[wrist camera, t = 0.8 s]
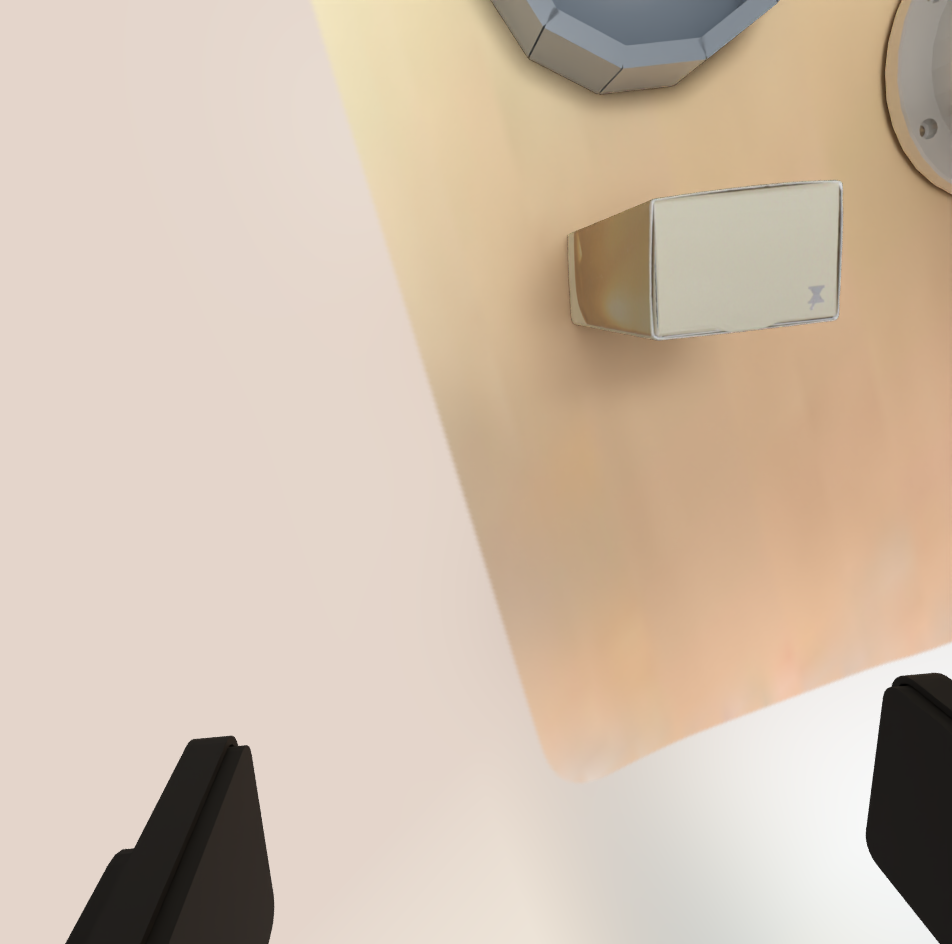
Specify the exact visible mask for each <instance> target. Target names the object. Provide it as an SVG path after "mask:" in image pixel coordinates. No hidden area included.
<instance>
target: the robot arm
mask: <svg viewBox="0 0 952 944" xmlns="http://www.w3.org/2000/svg"><path fill="white" fill-rule="evenodd" d="M885 80H886V99H887V104H888V109H889V113H890V117H891V122H892V126H893V129H894V131H895V133H896V135H897V138H898V140H899V142H900V144H901V147H902V149H903V151H904V152H905V153H906V155H907V156H908V158H909V159H910V160H911V162H912V163H913V165H914V166H915V167H916V169H917V170H918V171H919V172H920V173H921V174H923V175H924V176H925V177H926V178H927V179H928V180H929V181H930V182H932V183H933V184H934V185H935V186H937V187H939V188H941V189H943V190H945V191H946V192H948V193H950V194H952V0H902V1H901V3H900V6H899V8H898V10H897V12H896V16H895V19H894V23H893V27H892V30H891V34H890V38H889V42H888V49H887V59H886V68H885ZM866 842H867V846H868V849H869V852H870V854H871V856H872V858H873V860H874V861H875V863H876V864H877V865H878V867H879V868H880V869H881V871H882V872H883V873H884V874H885V875H886V877H887V878H888V879H889V881H890V882H891V883H892V884H893V886H894V887H895V888H896V889H897V890H898V892H899V893H900V894H901V896H902V897H903V898H904V899H905V901H906V902H907V903H908V904H909V906H910V907H911V908H912V909H913V911H914V912H915V913H916V914H917V916H918V917H919V918H920V920H921V921H922V922H923V923H924V925H925V926H926V927H927V928H928V929H929V931H930V932H931V933H932V935H933V936H934V937H935V938H936V940H937V941H938V942H939V943H940V944H952V680H951V679H950V678H948V677H947V676H945V675H943V674H940V673H928V674H917V675H906V676H900V677H897V678H896V679H895V680H894V682H893V683H892V687H890V688H887V689H886V691H885V692H884V696H883V702H882V710H881V718H880V725H879V733H878V741H877V749H876V757H875V765H874V772H873V781H872V788H871V796H870V804H869V812H868V820H867V827H866ZM273 917H274V895H273V889H272V882H271V876H270V869H269V863H268V856H267V850H266V844H265V837H264V831H263V825H262V818H261V812H260V805H259V799H258V792H257V786H256V780H255V773H254V767H253V761H252V754H251V750H250V748H249V746H247V745H244V746H238V744H237V741H236V739H235V737H233V736H224V737H212V738H201V739H193V740H191V741H190V742H189V743H188V745H187V746H186V748H185V750H184V752H183V754H182V756H181V758H180V760H179V762H178V764H177V766H176V768H175V770H174V772H173V773H172V775H171V777H170V780H169V781H168V783H167V785H166V787H165V789H164V791H163V793H162V795H161V797H160V799H159V801H158V803H157V805H156V807H155V809H154V811H153V813H152V815H151V817H150V818H149V820H148V822H147V824H146V826H145V828H144V830H143V832H142V834H141V836H140V838H139V840H138V842H137V844H136V846H135V848H133V849H123V850H121V851H120V852H118V853H117V854H116V855H115V856H114V857H113V859H112V860H111V862H110V863H109V864H108V866H107V868H106V870H105V872H104V873H103V875H102V877H101V879H100V881H99V883H98V884H97V886H96V888H95V890H94V892H93V894H92V896H91V897H90V899H89V901H88V903H87V905H86V907H85V908H84V910H83V912H82V914H81V916H80V918H79V920H78V921H77V923H76V925H75V927H74V929H73V931H72V932H71V934H70V936H69V938H68V940H67V942H66V943H65V944H268V943H269V939H270V934H271V930H272V925H273Z"/></svg>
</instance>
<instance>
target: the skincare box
mask: <svg viewBox="0 0 952 944" xmlns="http://www.w3.org/2000/svg"><path fill="white" fill-rule="evenodd" d="M842 203H843V184H842V182H840V181H838V180H828V181H802V182H787V183H776V184H765V185H755V186H747V187H738V188H729V189H720V190H713V191H705V192H698V193H691V194H683V195H677V196H670V197H663V198H656V199H652V200H650V201H648V202H645V203H643V204H641V205H638V206H636V207H633V208H631V209H628V210H626V211H624V212H621V213H619V214H616V215H614V216H612V217H609V218H607V219H605V220H602V221H600V222H597V223H595V224H593V225H590V226H588V227H585V228H582V229H580V230H578V231H575V232H572V233H570V234H569V235H568V267H569V290H570V306H571V319H572V322H573V323H574V324H576V325H580V326H586V327H591V328H596V329H601V330H606V331H611V332H616V333H621V334H627V335H632V336H637V337H642V338H647V339H652V340H668V339H678V338H688V337H698V336H708V335H717V334H726V333H735V332H744V331H752V330H760V329H769V328H777V327H785V326H794V325H802V324H811V323H818V322H827V321H834V320H837V318H838V317H839V296H840V280H841V257H842V237H843V204H842Z"/></svg>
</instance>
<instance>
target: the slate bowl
mask: <svg viewBox="0 0 952 944" xmlns="http://www.w3.org/2000/svg"><path fill="white" fill-rule="evenodd" d="M491 1H492V3H493V4H494V6H495V7H496V9H497V10H498V12H499V14H500V15H501V17H502V18H503V20H504V21H505V23H506V25H507V26H508V28H509V29H510V31H511V32H512V34H513V36H514V37H515V39H516V40H517V42H518V43H519V45H520V46H521V48H522V50H523V51H524V53H525V54H526V56H527V57H529V56H530V57H529V59H530V60H532V61H534V62H536V63H538V64H540V65H542V66H544V67H546V68H548V69H550V70H552V71H554V72H556V73H558V74H560V75H561V76H563V77H565V78H567V79H569V80H571V81H573V82H575V83H577V84H579V85H581V86H583V87H585V88H587V89H589V90H591V91H593V92H595V93H596V94H598V93H599V94H607V93H616V92H624V91H633V90H642V89H651V88H660V87H668V86H673V85H675V84H677V83H678V82H679V81H680V80H682V79H683V78H684V77H685V76H687V75H688V74H689V73H691V72H692V71H693V70H694V69H696V68H697V67H698V66H699V65H701V64H702V63H703V62H704V61H706V60H707V59H708V58H709V57H711V56H712V55H713V54H714V53H716V52H717V51H718V50H719V49H721V48H722V47H723V46H724V45H726V44H727V43H728V42H729V41H731V40H732V39H733V38H734V37H736V36H737V35H738V34H739V33H741V32H742V31H743V30H744V29H746V28H747V27H748V26H749V25H751V24H752V23H753V22H754V21H756V20H757V19H758V18H760V17H761V16H762V15H763V14H765V13H766V12H767V11H768V10H770V9H771V8H772V7H773V6H775V5H776V4H777V2H779V0H491Z"/></svg>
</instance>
